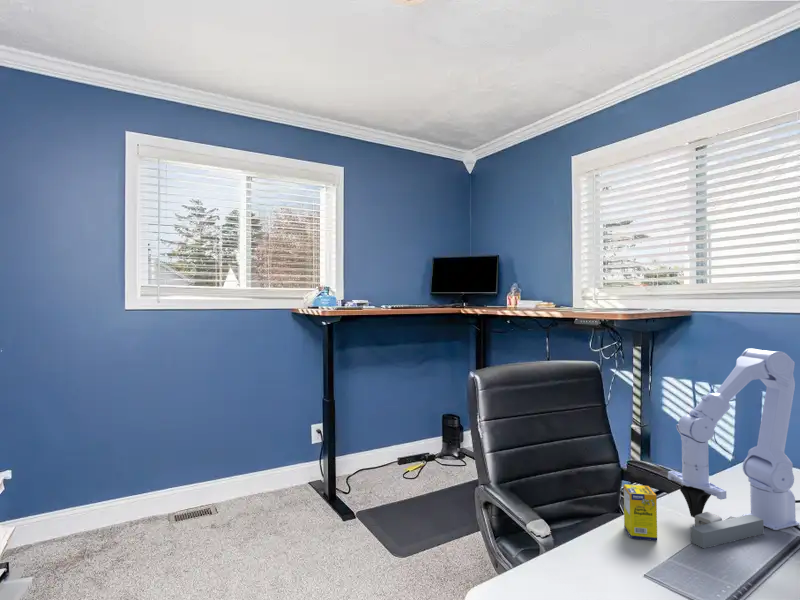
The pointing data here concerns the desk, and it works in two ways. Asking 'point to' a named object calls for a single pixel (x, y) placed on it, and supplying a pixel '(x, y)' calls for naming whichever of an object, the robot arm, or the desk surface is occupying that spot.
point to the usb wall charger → (706, 518)
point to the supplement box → (640, 512)
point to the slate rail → (726, 530)
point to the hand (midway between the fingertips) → (696, 516)
